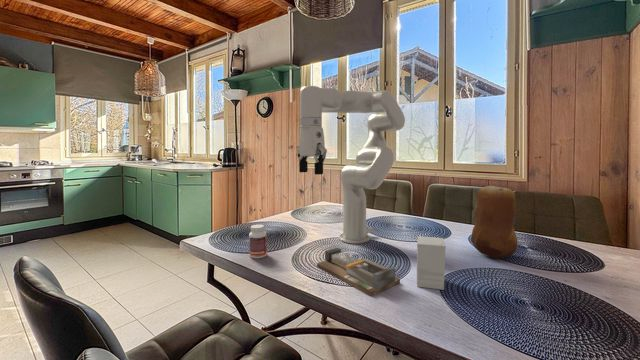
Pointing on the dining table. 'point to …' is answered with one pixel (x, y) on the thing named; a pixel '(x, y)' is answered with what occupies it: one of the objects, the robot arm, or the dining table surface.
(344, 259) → the grey and white block
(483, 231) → the butternut squash
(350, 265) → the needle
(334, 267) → the wooden board
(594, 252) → the dining table surface
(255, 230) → the pill bottle
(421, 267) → the supplement box
